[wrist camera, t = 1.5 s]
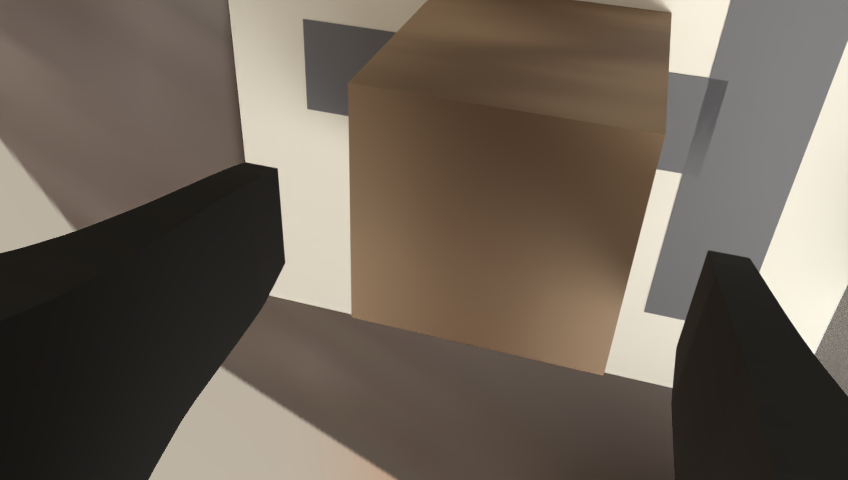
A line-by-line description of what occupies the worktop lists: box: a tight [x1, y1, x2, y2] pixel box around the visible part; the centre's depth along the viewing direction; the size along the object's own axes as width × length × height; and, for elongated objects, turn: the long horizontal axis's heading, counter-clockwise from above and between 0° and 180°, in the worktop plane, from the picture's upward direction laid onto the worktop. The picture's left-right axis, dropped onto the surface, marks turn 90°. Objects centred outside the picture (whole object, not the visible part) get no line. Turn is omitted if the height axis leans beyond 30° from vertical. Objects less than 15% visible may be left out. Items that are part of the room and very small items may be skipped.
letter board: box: [228, 0, 848, 388], centre depth 18 cm, size 16×16×1 cm
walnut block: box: [348, 0, 672, 376], centre depth 15 cm, size 5×5×6 cm
